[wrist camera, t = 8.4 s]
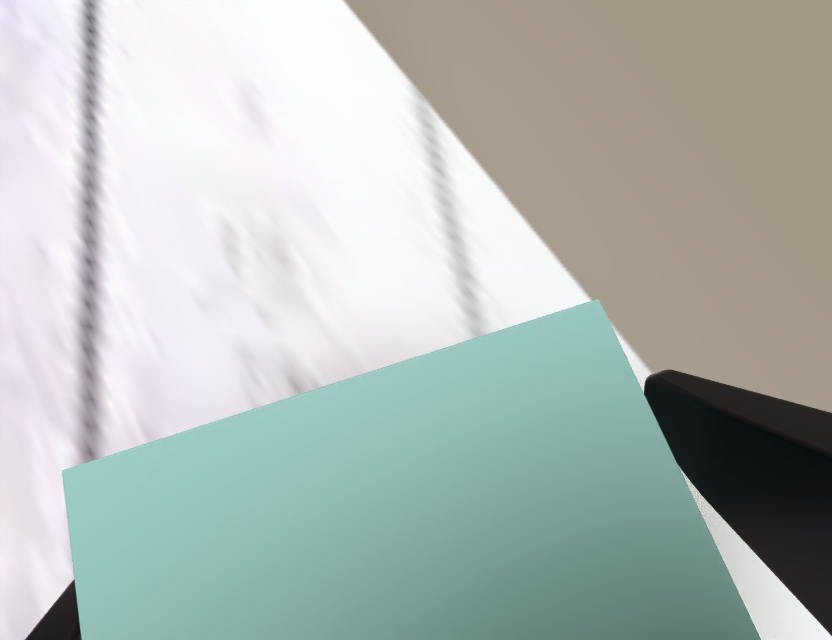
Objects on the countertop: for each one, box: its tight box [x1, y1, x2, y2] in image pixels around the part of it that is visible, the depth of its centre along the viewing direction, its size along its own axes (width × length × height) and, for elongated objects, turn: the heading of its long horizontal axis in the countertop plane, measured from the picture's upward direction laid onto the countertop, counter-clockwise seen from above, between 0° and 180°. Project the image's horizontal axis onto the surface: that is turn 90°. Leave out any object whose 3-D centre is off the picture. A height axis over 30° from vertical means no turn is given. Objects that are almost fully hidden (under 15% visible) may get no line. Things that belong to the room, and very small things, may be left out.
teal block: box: [62, 299, 761, 640], centre depth 10 cm, size 5×5×13 cm
